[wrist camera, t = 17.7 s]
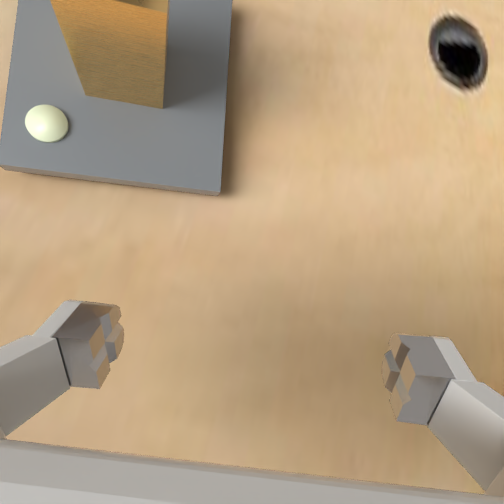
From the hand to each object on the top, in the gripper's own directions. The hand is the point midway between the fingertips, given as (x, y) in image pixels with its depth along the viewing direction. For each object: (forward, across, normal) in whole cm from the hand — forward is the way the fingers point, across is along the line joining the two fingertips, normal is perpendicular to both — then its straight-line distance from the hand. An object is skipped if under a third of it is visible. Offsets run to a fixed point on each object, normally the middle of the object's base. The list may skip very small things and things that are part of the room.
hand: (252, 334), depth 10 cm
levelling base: (+20, +11, -5) cm, 24 cm away
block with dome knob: (+18, +10, -6) cm, 22 cm away
